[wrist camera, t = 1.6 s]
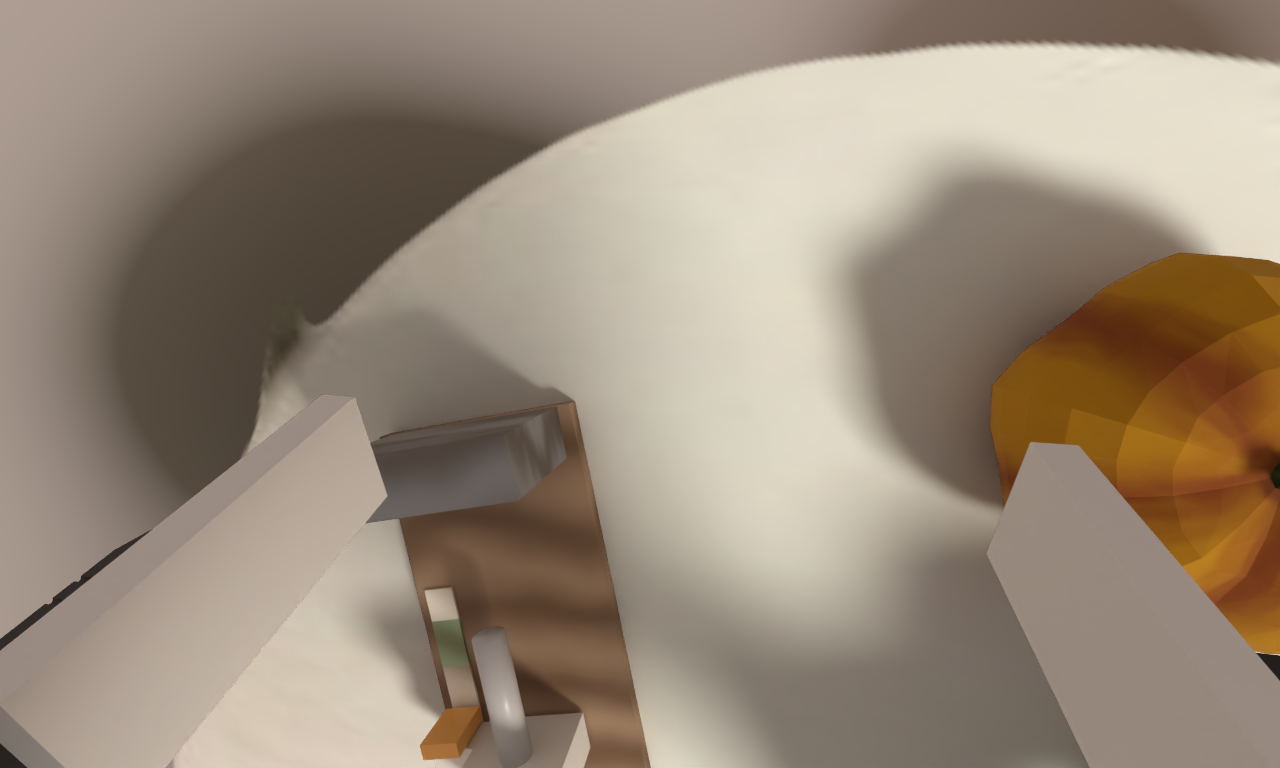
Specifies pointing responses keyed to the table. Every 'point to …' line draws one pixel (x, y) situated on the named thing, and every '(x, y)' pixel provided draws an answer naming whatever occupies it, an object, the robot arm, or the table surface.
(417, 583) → the bench
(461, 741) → the orange flat block
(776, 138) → the table surface
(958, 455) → the table surface
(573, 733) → the white stepped block
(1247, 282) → the decorative pumpkin
